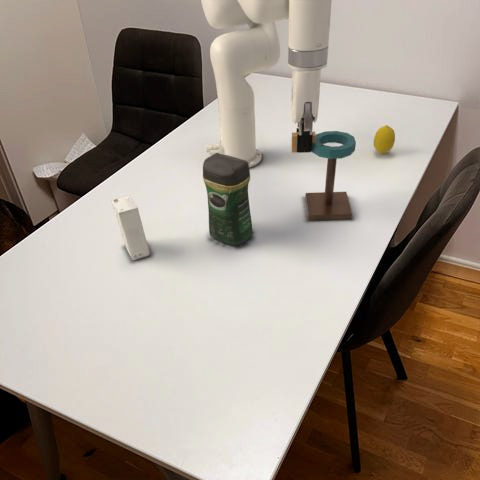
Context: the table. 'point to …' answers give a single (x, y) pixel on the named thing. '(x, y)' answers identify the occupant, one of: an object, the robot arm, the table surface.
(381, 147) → the lemon
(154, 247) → the table surface
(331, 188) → the peg stand
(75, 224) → the table surface
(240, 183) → the coffee jar
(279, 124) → the table surface
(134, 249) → the cosmetic box
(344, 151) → the ring
